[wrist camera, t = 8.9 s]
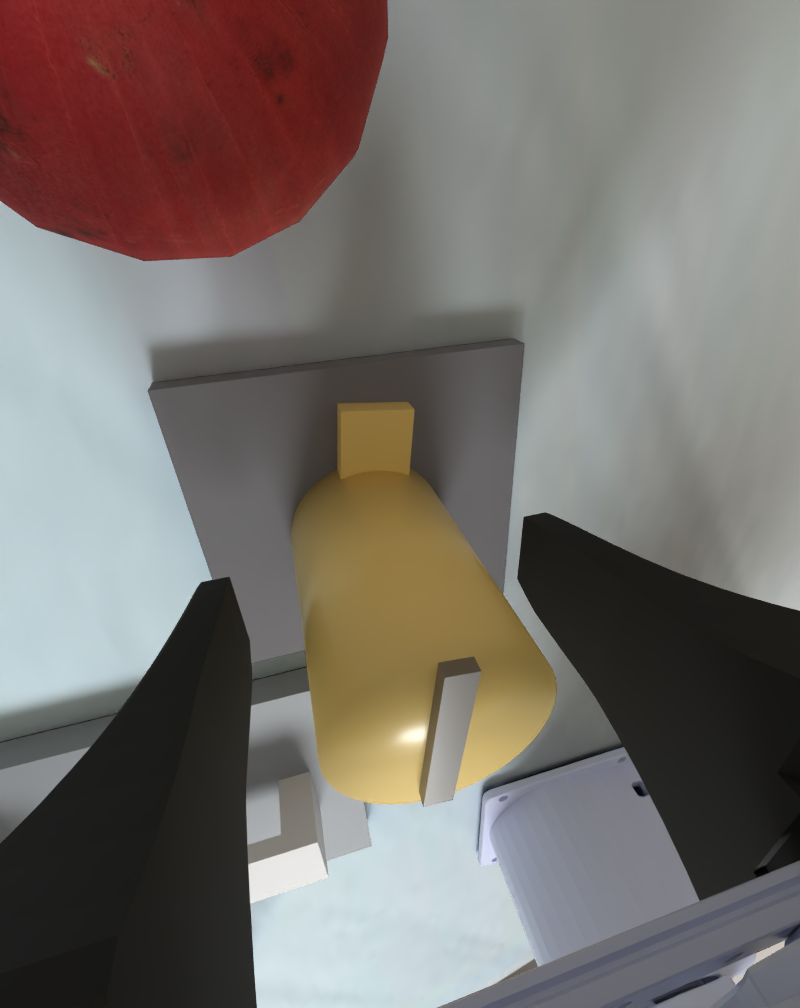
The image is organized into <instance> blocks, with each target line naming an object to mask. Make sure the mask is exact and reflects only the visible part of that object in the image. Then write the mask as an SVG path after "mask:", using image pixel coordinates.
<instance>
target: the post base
mask: <svg viewBox="0 0 800 1008" xmlns="http://www.w3.org/2000/svg"><path fill="white" fill-rule="evenodd" d="M116 715H117V714H115V715H111V716H107V717H103V718H99V719H95V720H91V721H87V722H83V723H79V724H75V725H71V726H67V727H62V728H58V729H54V730H50V731H46V732H42V733H38V734H34V735H30V736H26V737H22V738H18V739H14V740H10V741H6V742H2V743H0V843H1V842H2V841H3V840H4V839H5V838H6V837H7V836H8V835H9V834H10V833H11V832H12V831H13V830H14V829H15V828H16V827H17V826H18V825H19V824H20V823H21V822H22V821H23V820H24V819H25V818H26V817H27V816H28V815H29V814H30V813H31V812H32V811H33V810H34V809H35V808H36V807H37V806H38V805H39V804H40V803H41V802H42V801H43V800H44V799H45V797H46V796H47V795H48V794H49V793H50V792H51V791H52V790H53V789H54V788H55V786H56V785H57V784H58V783H59V782H60V781H61V780H62V779H63V778H64V777H65V775H66V774H67V773H68V772H69V771H70V770H71V769H72V768H73V767H74V766H75V764H76V763H77V762H78V761H79V760H80V759H81V758H82V756H83V755H84V754H85V753H86V752H87V751H88V749H89V748H90V747H91V746H92V745H93V743H94V742H95V741H96V740H97V739H98V737H99V736H100V735H101V734H102V732H103V731H104V730H105V729H106V727H107V726H108V725H109V724H110V722H111V721H112V720H113V718H114V717H115V716H116ZM246 815H247V845H248V868H249V890H250V904H251V903H254V902H257V901H260V900H263V899H266V898H269V897H272V896H275V895H278V894H281V893H284V892H287V891H290V890H293V889H296V888H299V887H302V886H305V885H308V884H311V883H314V882H317V881H320V880H323V879H326V878H328V870H327V862H326V861H327V860H330V859H333V858H336V857H339V856H343V855H346V854H349V853H352V852H355V851H358V850H361V849H364V848H367V847H370V846H372V845H371V839H370V834H369V828H368V822H367V817H366V811H365V806H364V802H363V801H359V800H355V799H352V798H350V797H347V796H345V795H343V794H342V793H340V792H338V791H337V790H335V789H334V788H333V787H332V786H331V785H330V784H329V783H328V782H327V780H326V779H325V778H324V776H323V774H322V772H321V769H320V766H319V760H318V752H317V744H316V736H315V728H314V720H313V712H312V704H311V696H310V688H309V680H308V672H307V667H306V668H302V669H298V670H294V671H290V672H286V673H282V674H278V675H274V676H270V677H266V678H262V679H257V680H253V681H252V698H251V716H250V732H249V748H248V764H247V782H246Z"/></svg>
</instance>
